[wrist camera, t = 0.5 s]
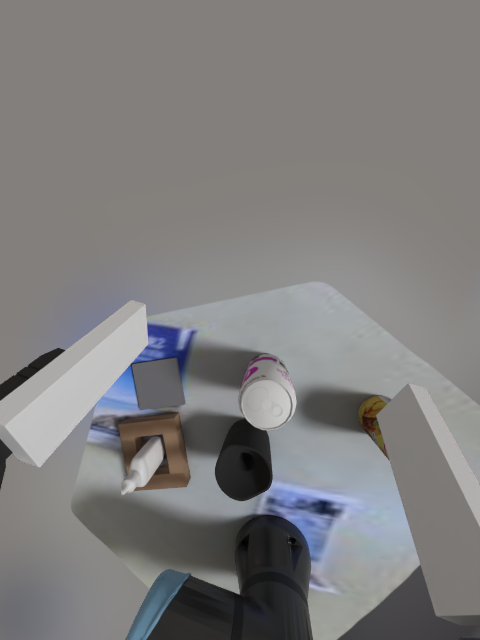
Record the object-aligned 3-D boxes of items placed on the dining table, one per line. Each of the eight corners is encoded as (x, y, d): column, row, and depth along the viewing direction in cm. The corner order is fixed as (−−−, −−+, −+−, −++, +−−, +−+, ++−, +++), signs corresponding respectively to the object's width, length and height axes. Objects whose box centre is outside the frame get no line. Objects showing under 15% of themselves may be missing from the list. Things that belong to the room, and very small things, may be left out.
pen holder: (229, 412, 47) (219, 440, 37) (274, 421, 46) (277, 453, 36) (222, 455, 47) (211, 494, 37) (266, 465, 46) (267, 508, 36)
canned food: (351, 426, 44) (383, 469, 32) (366, 389, 43) (405, 420, 31) (391, 441, 43) (439, 492, 31) (407, 404, 42) (463, 441, 31)
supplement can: (239, 379, 46) (226, 414, 31) (259, 345, 45) (256, 364, 30) (273, 401, 45) (277, 446, 30) (295, 366, 45) (309, 396, 30)
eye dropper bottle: (171, 441, 48) (140, 485, 36) (161, 463, 49) (127, 513, 37) (153, 432, 49) (117, 472, 37) (144, 454, 49) (105, 500, 37)
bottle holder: (190, 477, 48) (186, 486, 46) (137, 482, 50) (130, 491, 47) (178, 412, 48) (174, 418, 45) (125, 418, 49) (118, 424, 47)
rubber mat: (185, 403, 48) (184, 404, 47) (141, 408, 49) (140, 410, 48) (177, 357, 47) (175, 357, 47) (133, 363, 48) (131, 364, 48)
